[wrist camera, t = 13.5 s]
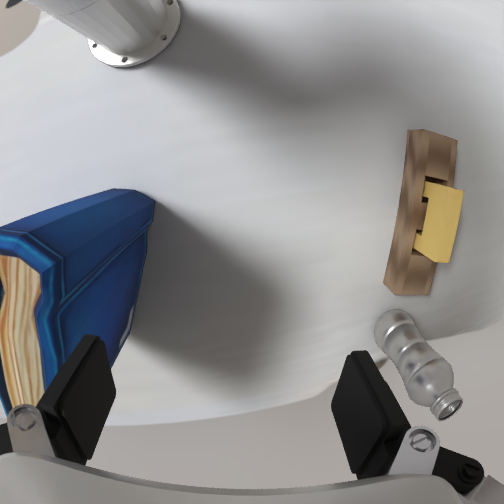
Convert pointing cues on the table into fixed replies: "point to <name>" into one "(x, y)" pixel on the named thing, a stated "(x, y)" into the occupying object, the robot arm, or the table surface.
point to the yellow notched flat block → (439, 222)
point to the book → (68, 285)
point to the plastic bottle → (418, 364)
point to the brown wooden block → (417, 210)
